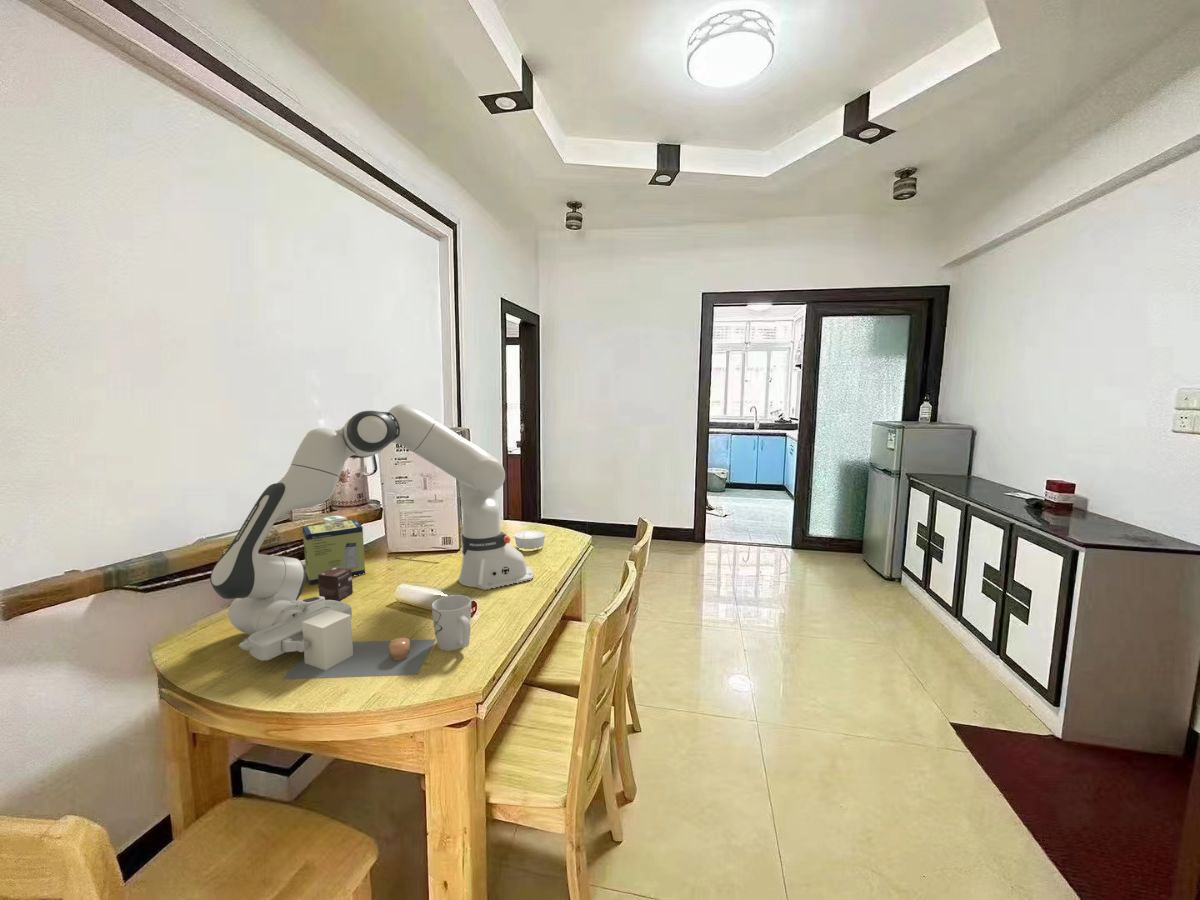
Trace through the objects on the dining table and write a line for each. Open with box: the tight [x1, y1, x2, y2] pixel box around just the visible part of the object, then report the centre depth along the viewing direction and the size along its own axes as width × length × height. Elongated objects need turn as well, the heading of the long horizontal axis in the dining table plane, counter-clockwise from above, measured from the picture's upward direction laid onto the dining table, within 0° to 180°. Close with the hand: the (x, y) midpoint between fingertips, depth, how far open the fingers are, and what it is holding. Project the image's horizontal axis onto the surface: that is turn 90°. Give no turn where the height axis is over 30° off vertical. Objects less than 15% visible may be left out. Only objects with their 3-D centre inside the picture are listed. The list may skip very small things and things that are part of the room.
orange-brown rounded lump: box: [389, 637, 410, 661], centre depth 102 cm, size 4×4×3 cm
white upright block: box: [302, 609, 353, 670], centre depth 101 cm, size 6×6×9 cm
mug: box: [431, 594, 472, 652], centre depth 107 cm, size 11×8×10 cm
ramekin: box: [513, 530, 546, 549], centre depth 177 cm, size 11×11×5 cm
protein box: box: [302, 519, 366, 586], centre depth 150 cm, size 10×16×16 cm
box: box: [318, 568, 354, 602], centre depth 133 cm, size 6×6×7 cm
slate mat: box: [281, 638, 437, 681], centre depth 102 cm, size 26×14×1 cm, turn 94°
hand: (327, 636), depth 101 cm, fingers open, 8 cm apart
